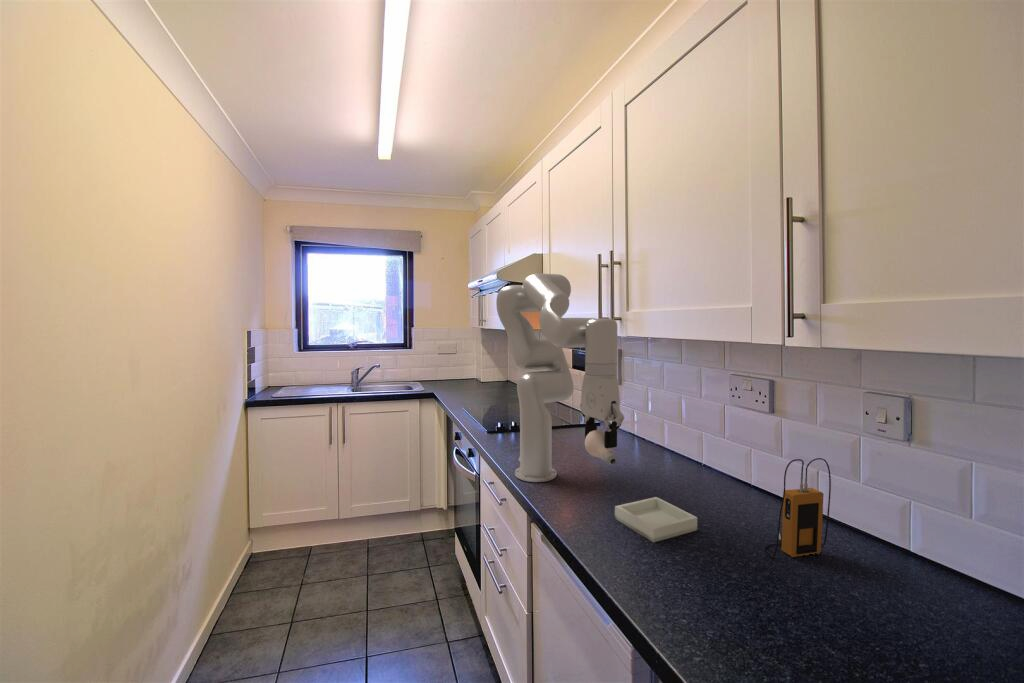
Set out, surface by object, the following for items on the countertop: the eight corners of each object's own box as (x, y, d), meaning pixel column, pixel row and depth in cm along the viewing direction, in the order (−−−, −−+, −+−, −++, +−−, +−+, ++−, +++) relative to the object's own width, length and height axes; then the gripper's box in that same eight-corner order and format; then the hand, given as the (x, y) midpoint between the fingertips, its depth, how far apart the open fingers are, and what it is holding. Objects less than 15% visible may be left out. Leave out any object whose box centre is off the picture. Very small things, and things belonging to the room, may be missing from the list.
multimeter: (796, 530, 104) (800, 443, 103) (836, 553, 94) (840, 457, 93) (740, 537, 101) (743, 447, 100) (775, 561, 91) (779, 462, 90)
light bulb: (626, 446, 104) (603, 421, 114) (599, 453, 102) (579, 428, 112) (626, 469, 106) (604, 443, 116) (600, 477, 105) (580, 450, 115)
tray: (614, 518, 110) (614, 506, 110) (656, 508, 116) (656, 496, 116) (653, 542, 99) (653, 529, 98) (697, 530, 104) (697, 517, 104)
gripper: (568, 367, 116) (568, 436, 117) (610, 375, 100) (609, 455, 101) (593, 366, 119) (592, 433, 120) (637, 373, 104) (636, 450, 104)
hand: (600, 442), depth 111 cm, fingers closed on light bulb, 7 cm apart
